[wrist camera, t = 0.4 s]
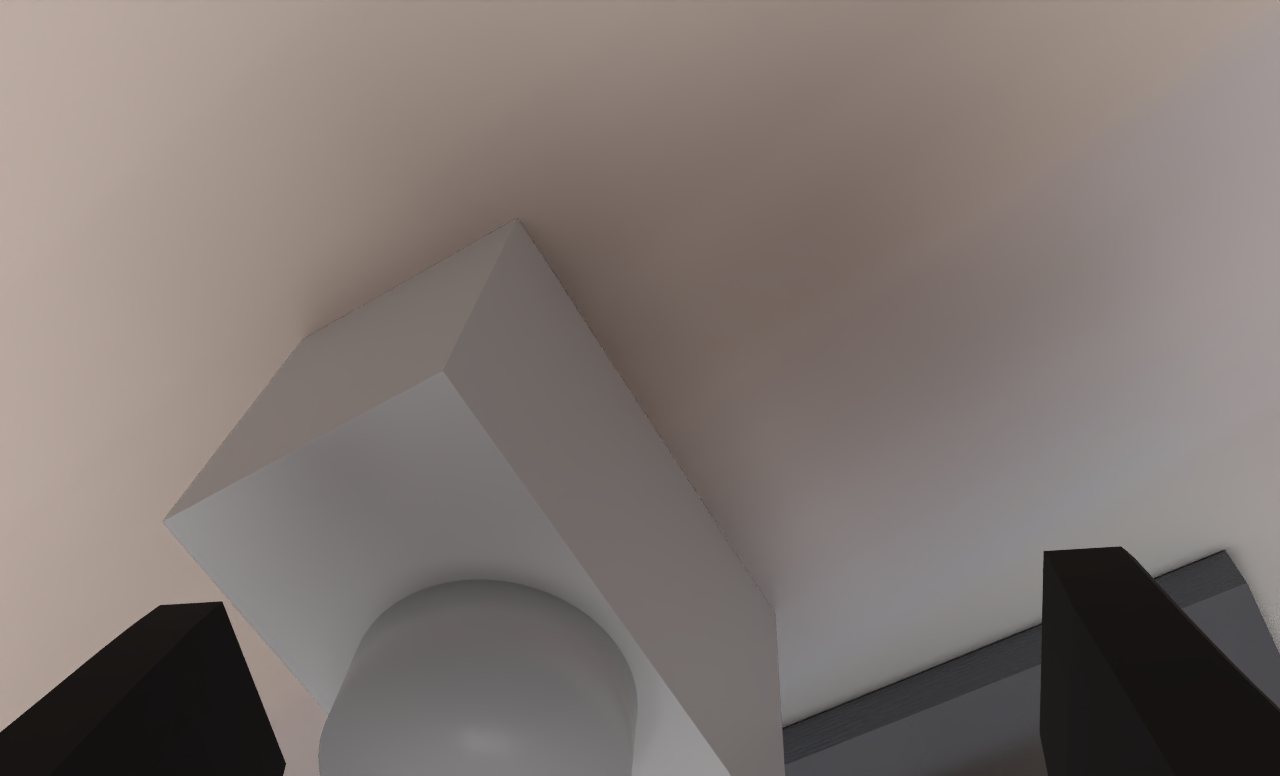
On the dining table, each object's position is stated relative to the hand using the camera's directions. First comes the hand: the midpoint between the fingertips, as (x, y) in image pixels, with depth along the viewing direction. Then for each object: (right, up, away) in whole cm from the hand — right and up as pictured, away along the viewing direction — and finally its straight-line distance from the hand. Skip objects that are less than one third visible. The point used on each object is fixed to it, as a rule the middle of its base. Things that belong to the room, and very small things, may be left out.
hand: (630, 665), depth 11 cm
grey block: (-2, +1, +12) cm, 12 cm away
